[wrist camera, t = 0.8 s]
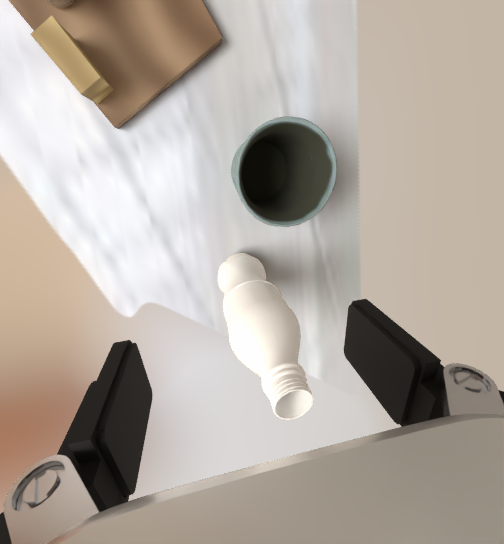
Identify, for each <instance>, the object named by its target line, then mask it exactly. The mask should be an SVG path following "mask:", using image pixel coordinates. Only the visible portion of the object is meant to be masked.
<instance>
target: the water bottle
mask: <svg viewBox="0 0 504 544" xmlns="http://www.w3.org/2000/svg"><path fill="white" fill-rule="evenodd" d="M218 284H219V287H220V289H221V290H222V292H223V293H224V294H225V296H224V300H223V310H224V315H225V318H226V320H227V325H228V330H229V341H230V344H231V347H232V350H233V352H234V353H235V355H236V356H237V358H238V359H239V360H240V361H241V362H242V363H243V364H244V365H246V366H247V367H248V368H249V369H250V370H252V371H253V372H255V373H256V374H258V375H259V376H260V377H261V378H262V388H263V390H264V392H265V393H266V395H267V397H268V398H269V399H270V402H271V406H272V408H273V412H274V414H275V415H276V416H278V417H279V418H282V419H284V420H285V419H286V420H287V419H295V418H298V417H300V416H302V415H303V414H305V413H306V412H307V411H308V410H309V409H310V408H311V405H312V403H313V396H312V393H311V391H310V389H309V387H308V384H307V383H306V377H305V372H304V370H303V368H302V367H301V366H300V365H299V364H298V354H299V348H300V337H301V334H300V326H299V323H298V320H297V318H296V316H295V314H294V312H293V311H292V310H291V309H290V308H289V307H288V305H287V304H286V302H285V301H284V299H283V298H282V295H281V293H280V291H279V289H278V288H277V287H276V286H275V285H274V284H273V283H271V282H268V281H266V272H265V269H264V267H263V265H262V264H261V262H260V261H259V260H258V259H257V258H255V257H252V256H250V255H248V254H246V253H236V254H233V255H231V256H230V257H228V258H227V260H226V261H225V262H224V263H222V264H221V266H220V268H219V271H218Z"/></svg>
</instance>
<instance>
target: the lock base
mask: <svg viewBox="0 0 504 544" xmlns="http://www.w3.org/2000/svg"><path fill="white" fill-rule="evenodd" d="M9 1H10V2H11V4H12V5H13V6H14V7H15V8H16V10H17V11H18V12H19V13H20V14H21V16H22V17H23V18H24V19H25V20H26V22H27V23H28V24H29V25H30V26H31V28H32V29H33V30H34V32H32V33H31V35H32V37H33V38H34V39H35V40H36V41H37V42H38V44H39V45H40V46H41V47H42V48H43V50H44V51H45V52H46V53H47V54H48V56H49V57H50V58H51V59H52V60H53V61H54V63H55V64H56V65H57V66H58V67H59V69H60V70H61V71H62V72H63V73H64V74H65V76H66V77H67V78H68V79H69V80H70V82H71V83H72V84H73V85H74V86H75V87H76V89H77V90H78V91H79V92H80V93H81V94H82V95H83V96H85V97H87V98H88V99H90V100H92V101H93V102H94V103H95V104H96V105H97V107H98V108H99V109H100V110H101V111H102V113H103V114H104V115H105V116H106V117H107V119H108V120H109V121H110V122H111V123H112V125H113V126H114V127H115V128H118V129H119V128H120V127H121V126H122V125H123V124H125V123H126V122H127V121H128V120H129V119H131V118H132V117H133V116H134V115H135V114H137V113H138V112H139V111H140V110H141V109H143V108H144V107H145V106H146V105H147V104H149V103H150V102H151V101H152V100H153V99H155V98H156V97H157V96H158V95H160V94H161V93H162V92H163V91H164V90H166V89H167V88H168V87H169V86H170V85H172V84H173V83H174V82H175V81H176V80H178V79H179V78H180V77H181V76H182V75H184V74H185V73H186V72H187V71H188V70H190V69H191V68H192V67H193V66H194V65H196V64H197V63H198V62H199V61H200V60H202V59H203V58H204V57H205V56H206V55H208V54H209V53H210V52H211V51H212V50H214V49H215V48H216V47H217V46H218V45H220V44H221V41H222V36H221V34H220V32H219V30H218V29H217V27H216V25H215V23H214V21H213V20H212V18H211V16H210V14H209V12H208V11H207V9H206V7H205V5H204V3H203V2H202V0H74V2H73V3H72V4H71V5H70V6H68V7H65V8H59V7H55V6H53V5H51V4H49V3H48V2H46V1H45V0H9Z"/></svg>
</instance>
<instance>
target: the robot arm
mask: <svg viewBox="0 0 504 544" xmlns="http://www.w3.org/2000/svg"><path fill="white" fill-rule="evenodd" d="M344 354H345V356H346V358H347V360H348V361H349V362H350V364H351V365H352V366H353V368H354V369H355V370H356V372H357V373H358V374H359V376H360V377H361V378H362V380H363V381H364V382H365V383H366V385H367V386H368V387H369V389H370V390H371V391H372V393H373V394H374V395H375V397H376V398H377V399H378V401H379V402H380V403H381V405H382V406H383V407H384V409H385V410H386V411H387V413H388V414H389V415H390V417H391V418H392V419H393V420H394V422H396V423H397V424H400V425H401V426H402V427H400V428H396V429H392V430H388V431H384V432H381V433H377V434H373V435H369V436H365V437H361V438H357V439H353V440H350V441H346V442H342V443H338V444H334V445H330V446H326V447H323V448H319V449H315V450H311V451H308V452H304V453H300V454H296V455H293V456H289V457H285V458H281V459H277V460H274V461H270V462H266V463H262V464H259V465H255V466H252V467H248V468H244V469H240V470H237V471H233V472H229V473H225V474H222V475H218V476H214V477H211V478H207V479H203V480H200V481H196V482H192V483H189V484H185V485H182V486H178V487H175V488H171V489H168V490H165V491H161V492H158V493H154V494H151V495H147V496H144V497H141V498H137V499H135V500H132V501H129V502H128V499H129V495H131V494H133V493H134V491H135V488H136V483H137V478H138V472H139V467H140V462H141V456H142V450H143V445H144V440H145V435H146V429H147V424H148V419H149V413H150V408H151V402H152V389H151V386H150V383H149V380H148V377H147V374H146V371H145V368H144V365H143V362H142V359H141V356H140V353H139V350H138V347H137V344H136V343H132V342H131V341H130V340H127V341H122V342H116V343H114V344H113V346H112V348H111V350H110V352H109V355H108V357H107V359H106V361H105V363H104V365H103V368H102V370H101V372H100V374H99V377H98V379H97V381H94V382H93V383H91V385H90V386H89V388H88V390H87V392H86V394H85V396H84V399H83V401H82V403H81V405H80V407H79V409H78V411H77V413H76V416H75V418H74V420H73V422H72V424H71V426H70V428H69V430H68V432H67V435H66V437H65V439H64V441H63V443H62V445H61V447H60V449H59V452H58V454H57V455H54V456H50V457H47V458H45V459H42V460H41V461H39V462H38V463H36V464H34V465H33V466H31V467H30V468H29V469H28V470H27V471H25V472H24V473H23V474H22V475H21V476H20V477H19V479H18V480H17V481H16V482H15V483H14V484H13V486H12V488H11V489H10V491H9V492H8V494H7V497H6V499H5V502H4V512H3V513H1V514H0V544H504V392H503V391H500V390H498V388H497V386H496V384H495V383H494V381H493V380H492V379H491V378H490V377H489V376H487V375H486V374H484V373H483V372H482V371H480V370H478V369H476V368H473V367H471V366H468V365H463V364H449V365H447V366H446V367H443V366H442V365H441V364H440V361H441V360H440V359H439V358H437V357H436V356H435V355H434V354H433V353H432V352H430V351H429V350H428V349H427V348H425V347H424V346H423V345H422V344H420V343H419V342H418V341H417V340H416V339H414V338H413V337H412V336H411V335H410V334H408V333H407V332H406V331H405V330H404V329H402V328H401V327H400V326H398V325H397V324H396V323H395V322H393V320H391V319H390V318H389V317H388V316H386V315H385V314H384V313H383V312H382V311H380V310H379V309H378V308H377V307H376V306H374V305H373V304H372V303H371V302H369V301H368V300H367V299H362V300H357V301H353V302H352V304H351V305H349V308H348V317H347V327H346V336H345V345H344Z"/></svg>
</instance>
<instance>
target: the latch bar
mask: <svg viewBox="0 0 504 544" xmlns="http://www.w3.org/2000/svg"><path fill="white" fill-rule="evenodd" d="M45 1H46V2H48V3H49V4H51V5H53V6H55V7H59V8H65V7H68V6H70V5H71V4H72V3H73V2H74V0H45Z"/></svg>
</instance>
